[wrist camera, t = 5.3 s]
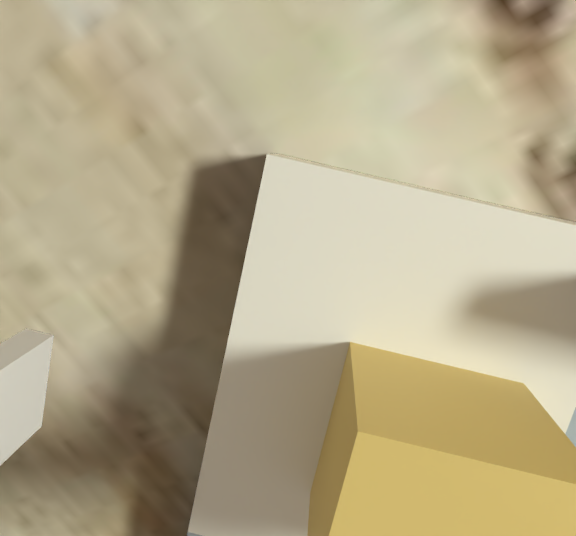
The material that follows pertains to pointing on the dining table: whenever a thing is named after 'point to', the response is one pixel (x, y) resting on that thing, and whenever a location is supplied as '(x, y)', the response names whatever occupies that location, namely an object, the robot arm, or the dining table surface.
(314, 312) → the board
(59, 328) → the dining table surface
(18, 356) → the robot arm
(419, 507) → the block
